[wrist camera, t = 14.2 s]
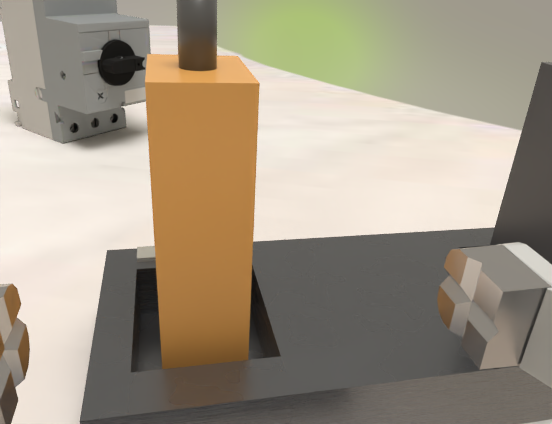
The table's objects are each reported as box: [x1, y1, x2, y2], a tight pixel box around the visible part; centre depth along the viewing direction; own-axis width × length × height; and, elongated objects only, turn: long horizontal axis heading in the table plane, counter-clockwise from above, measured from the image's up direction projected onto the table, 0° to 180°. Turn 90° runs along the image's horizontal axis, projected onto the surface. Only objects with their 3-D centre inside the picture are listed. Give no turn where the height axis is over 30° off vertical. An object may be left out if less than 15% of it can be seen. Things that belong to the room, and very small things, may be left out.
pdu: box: [80, 228, 552, 424], centre depth 23 cm, size 24×10×4 cm, turn 102°
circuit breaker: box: [0, 0, 151, 143], centre depth 48 cm, size 8×14×15 cm, turn 54°
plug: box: [145, 0, 259, 369], centre depth 18 cm, size 3×4×14 cm
